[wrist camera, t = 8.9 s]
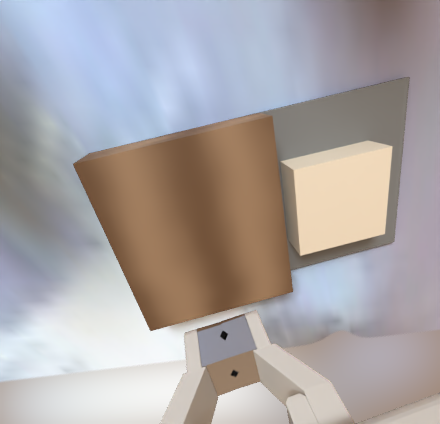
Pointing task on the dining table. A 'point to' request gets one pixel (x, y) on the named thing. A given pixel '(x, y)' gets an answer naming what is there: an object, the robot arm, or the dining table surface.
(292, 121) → the mat
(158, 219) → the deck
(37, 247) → the dining table surface
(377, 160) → the tile
